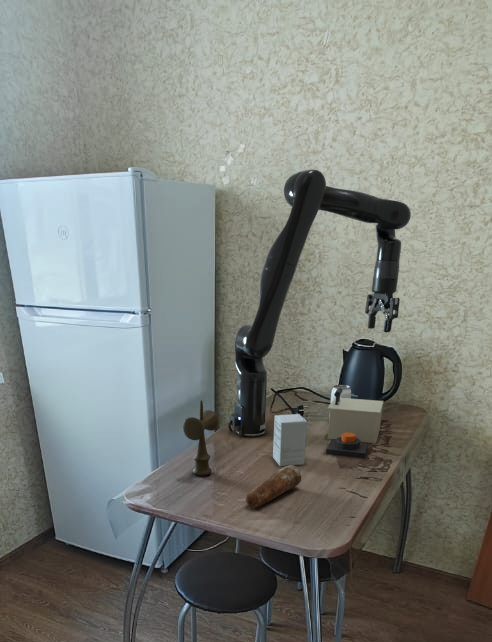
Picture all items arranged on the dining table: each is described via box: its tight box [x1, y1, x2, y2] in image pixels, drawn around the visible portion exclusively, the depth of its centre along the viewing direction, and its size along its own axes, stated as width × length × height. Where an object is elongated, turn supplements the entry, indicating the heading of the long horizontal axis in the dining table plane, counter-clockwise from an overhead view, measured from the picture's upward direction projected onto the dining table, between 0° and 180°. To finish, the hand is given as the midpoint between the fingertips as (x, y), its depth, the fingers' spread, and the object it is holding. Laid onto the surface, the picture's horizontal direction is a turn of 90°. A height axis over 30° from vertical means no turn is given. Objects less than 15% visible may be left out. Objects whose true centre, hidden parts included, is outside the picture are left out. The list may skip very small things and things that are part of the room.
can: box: [328, 384, 352, 418], centre depth 194 cm, size 6×6×12 cm
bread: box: [245, 465, 302, 509], centre depth 140 cm, size 6×19×6 cm, turn 140°
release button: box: [341, 433, 356, 443], centre depth 168 cm, size 4×4×2 cm
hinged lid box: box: [327, 405, 384, 444], centre depth 182 cm, size 15×14×9 cm
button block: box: [325, 437, 369, 459], centre depth 169 cm, size 11×9×4 cm
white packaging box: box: [272, 413, 308, 467], centre depth 160 cm, size 7×7×13 cm
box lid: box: [326, 388, 384, 415], centre depth 179 cm, size 16×14×5 cm
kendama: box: [182, 399, 220, 477], centre depth 150 cm, size 6×10×20 cm, turn 150°
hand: (378, 330), depth 187 cm, fingers open, 8 cm apart
